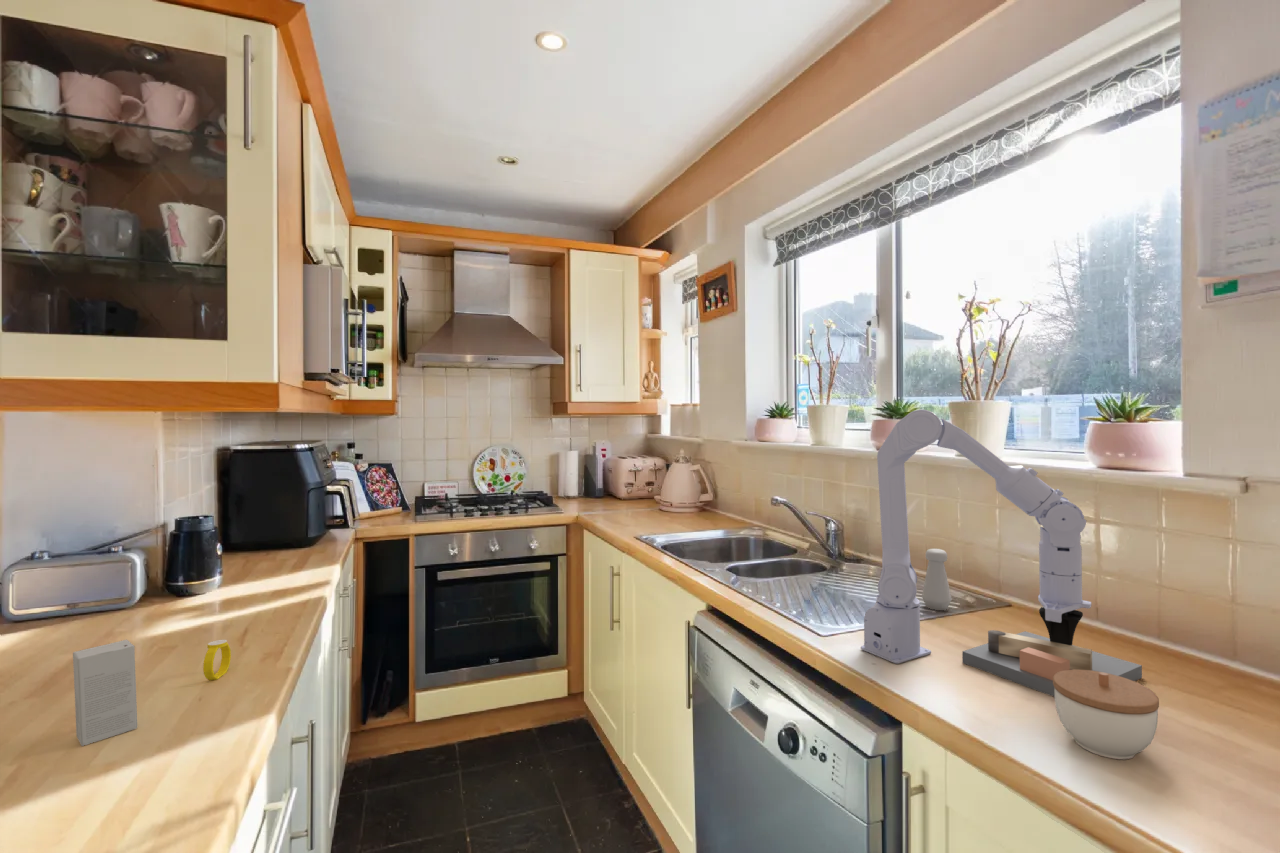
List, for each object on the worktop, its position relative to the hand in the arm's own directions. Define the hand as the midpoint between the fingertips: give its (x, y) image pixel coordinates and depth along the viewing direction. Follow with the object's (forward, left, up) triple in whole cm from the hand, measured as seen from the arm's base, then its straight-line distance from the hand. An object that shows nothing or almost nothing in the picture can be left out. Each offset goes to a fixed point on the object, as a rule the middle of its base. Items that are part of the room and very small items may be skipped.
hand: (1061, 654), depth 98 cm
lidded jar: (-19, -14, -4) cm, 24 cm away
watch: (-123, +71, -4) cm, 142 cm away
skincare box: (-134, +56, -4) cm, 145 cm away
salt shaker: (+13, +32, -4) cm, 35 cm away
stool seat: (0, +2, -3) cm, 4 cm away
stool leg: (-3, +2, -1) cm, 4 cm away
